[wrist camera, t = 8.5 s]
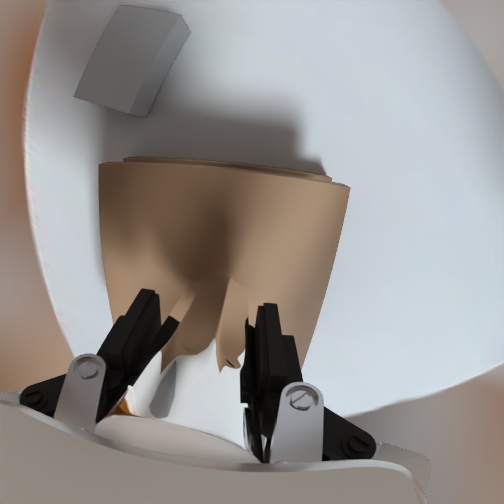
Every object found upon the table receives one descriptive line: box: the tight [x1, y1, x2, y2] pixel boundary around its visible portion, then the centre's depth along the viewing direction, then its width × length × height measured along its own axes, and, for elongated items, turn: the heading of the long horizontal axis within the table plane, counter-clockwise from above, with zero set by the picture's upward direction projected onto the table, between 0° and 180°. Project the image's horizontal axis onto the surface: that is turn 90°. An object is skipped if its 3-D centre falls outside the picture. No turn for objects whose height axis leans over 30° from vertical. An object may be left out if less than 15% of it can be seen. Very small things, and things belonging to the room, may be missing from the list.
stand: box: [99, 157, 350, 369], centre depth 16 cm, size 12×12×4 cm
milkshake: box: [94, 275, 264, 464], centre depth 8 cm, size 5×5×10 cm
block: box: [74, 5, 191, 117], centre depth 11 cm, size 4×6×3 cm, turn 154°
